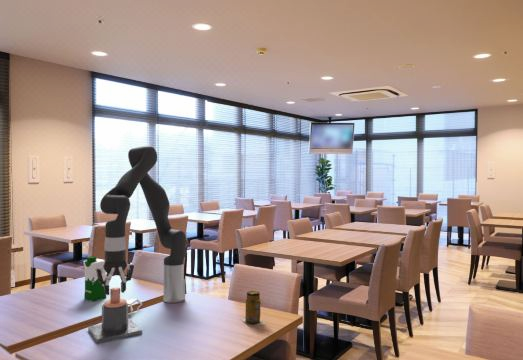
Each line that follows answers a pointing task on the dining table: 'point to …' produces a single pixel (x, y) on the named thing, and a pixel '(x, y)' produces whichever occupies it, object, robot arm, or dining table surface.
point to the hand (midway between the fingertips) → (115, 293)
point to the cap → (115, 299)
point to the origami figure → (132, 303)
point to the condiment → (253, 309)
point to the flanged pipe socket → (114, 325)
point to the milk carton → (93, 279)
